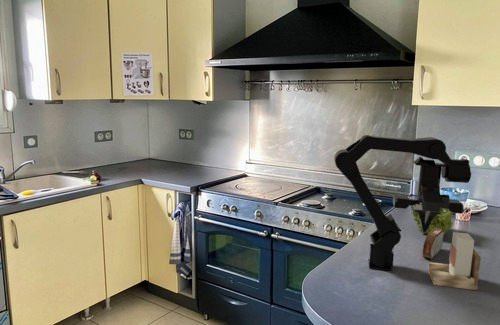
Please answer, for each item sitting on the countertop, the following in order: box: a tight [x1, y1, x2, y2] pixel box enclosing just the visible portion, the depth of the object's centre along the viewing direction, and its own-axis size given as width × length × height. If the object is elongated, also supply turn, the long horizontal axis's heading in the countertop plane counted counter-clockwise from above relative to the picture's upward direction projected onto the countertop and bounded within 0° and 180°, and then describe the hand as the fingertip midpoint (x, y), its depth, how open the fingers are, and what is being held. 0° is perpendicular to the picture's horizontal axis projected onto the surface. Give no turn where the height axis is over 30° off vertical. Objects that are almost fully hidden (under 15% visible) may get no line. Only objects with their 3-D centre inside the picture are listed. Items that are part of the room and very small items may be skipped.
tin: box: [422, 228, 445, 260], centre depth 137 cm, size 15×3×8 cm, turn 141°
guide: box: [426, 248, 482, 291], centre depth 119 cm, size 11×10×9 cm
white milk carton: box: [448, 231, 475, 277], centre depth 118 cm, size 4×6×12 cm
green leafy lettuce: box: [409, 205, 454, 235], centre depth 158 cm, size 18×16×16 cm
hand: (424, 231), depth 124 cm, fingers closed
